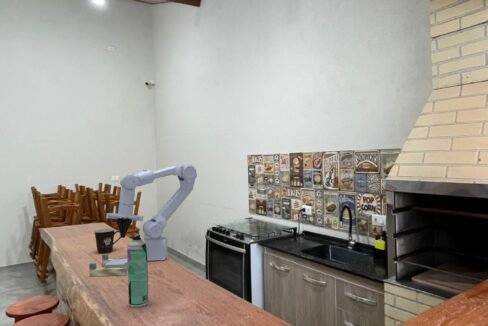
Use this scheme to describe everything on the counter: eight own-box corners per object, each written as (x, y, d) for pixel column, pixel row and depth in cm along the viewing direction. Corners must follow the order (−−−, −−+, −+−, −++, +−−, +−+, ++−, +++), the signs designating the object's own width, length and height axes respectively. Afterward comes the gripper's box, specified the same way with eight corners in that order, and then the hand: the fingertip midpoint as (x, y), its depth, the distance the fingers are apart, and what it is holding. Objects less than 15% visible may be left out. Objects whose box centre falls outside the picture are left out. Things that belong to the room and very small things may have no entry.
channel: (136, 264, 142) (135, 253, 142) (125, 275, 129) (125, 263, 129) (103, 265, 142) (103, 254, 142) (89, 276, 128) (89, 264, 128)
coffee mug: (93, 255, 158) (93, 233, 158) (96, 250, 167) (95, 229, 166) (121, 252, 161) (120, 230, 161) (122, 248, 170) (121, 227, 170)
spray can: (150, 299, 105) (148, 232, 105) (146, 307, 100) (144, 236, 100) (131, 300, 105) (130, 233, 105) (126, 308, 100) (124, 237, 100)
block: (130, 268, 139) (130, 259, 139) (123, 273, 132) (123, 264, 132) (112, 268, 139) (112, 259, 139) (105, 274, 132) (104, 264, 132)
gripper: (146, 205, 149) (143, 237, 148) (112, 201, 149) (108, 234, 148) (142, 206, 142) (138, 240, 141) (106, 202, 142) (102, 236, 141)
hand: (122, 237), depth 144 cm, fingers closed
